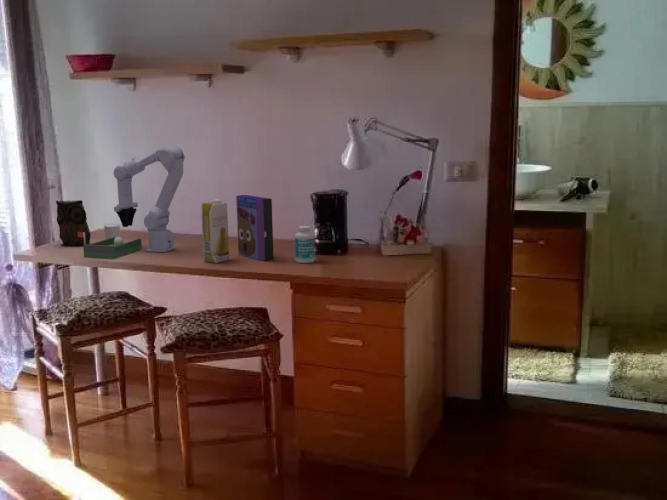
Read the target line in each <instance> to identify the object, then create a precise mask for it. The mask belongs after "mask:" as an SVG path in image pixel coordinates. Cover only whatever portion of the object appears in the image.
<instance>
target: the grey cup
mask: <svg viewBox="0 0 667 500" xmlns="http://www.w3.org/2000/svg"><path fill="white" fill-rule="evenodd" d="M103 229H104V234H105V240H106V239H109V238H112V237H115V238H116V237H121V236H120V235H121V225H120V224H107V225H104V226H103Z"/></svg>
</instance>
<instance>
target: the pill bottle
mask: <svg viewBox="0 0 667 500" xmlns="http://www.w3.org/2000/svg"><path fill="white" fill-rule="evenodd" d="M311 230H312V228H311V226H309V225H300V226H298V232H296V233H295V235H294V257H295V258H294V261H295V262H296V263H299V264H309V263H310V264H311V263H314V262H315V258H316V257H315V256H316V255H315V251H316V250H315V234H314V233H313V232H312V231H311Z"/></svg>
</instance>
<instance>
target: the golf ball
mask: <svg viewBox="0 0 667 500" xmlns="http://www.w3.org/2000/svg"><path fill="white" fill-rule="evenodd" d="M124 241H125V240H124V238H123V237H121V236H120V237H116V238H115V239H114V244H115V245H116V246H117V245H121V244H124V243H125V242H124Z"/></svg>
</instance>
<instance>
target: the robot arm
mask: <svg viewBox="0 0 667 500" xmlns="http://www.w3.org/2000/svg"><path fill="white" fill-rule="evenodd" d="M185 159H186V156H185V153H184V151H183V149H182V148H181V147H179V146H174V147H168V148H167V147H163V148H161V149H157V150H154V152H152V153H149V154H148V155H147V156H145V157H143V158H139V157H133V158H131V160H130V161H128V162H124V163H123V165H116V167H115V168H114V169H113V175H114V178H115V179H116V183H117V185H116V186H117V198H118V204H116V206H114V207H113V211H114V212H115V213H116V214H117V216H118V218H119V220H120V222H121V226H122V227H123V228H128V227H129V226H130V227H132V226H133V222H134V218H135V214H136V212H137V208H138V207H139V204H138V202H136V201H135V202H133V201H134V199H133V187H132V186H133V185H132V182H133V177H134V176H136V175H138V174H140V173H142V172H144V171H145V169H146V167H148V166H149V165H152V164H154V163H156V162H158V163H159V162H160V163H161V165H162V166H163V167H164V169H165V170H166V172H167V173H168V174H167V176H166V177H165V181H164V183H163V186H162V189H161V191H160V193H159V196H158V197H157V200H156V203H155V205H154V207H152V208H151V209H150V210H149V212H148V214H147V215H145V216H144V219H143V225H144V226H145V228H146V229H147V231H148V248H147V249H145V252H154V253H155V252H157V253H166V252H169V251H172V250H174V249H175V247H174V235H173V232H172V230H170V229H167V228H168V227H167V226H168V224H169V222H170V215H171V212H170V211H169V208H170V206H171V204H172V201H173V199H174V197H175V194H176V192H177V190H178V187H179V185H180V182H181V180H182V178H183V175H184V161H185Z"/></svg>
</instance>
